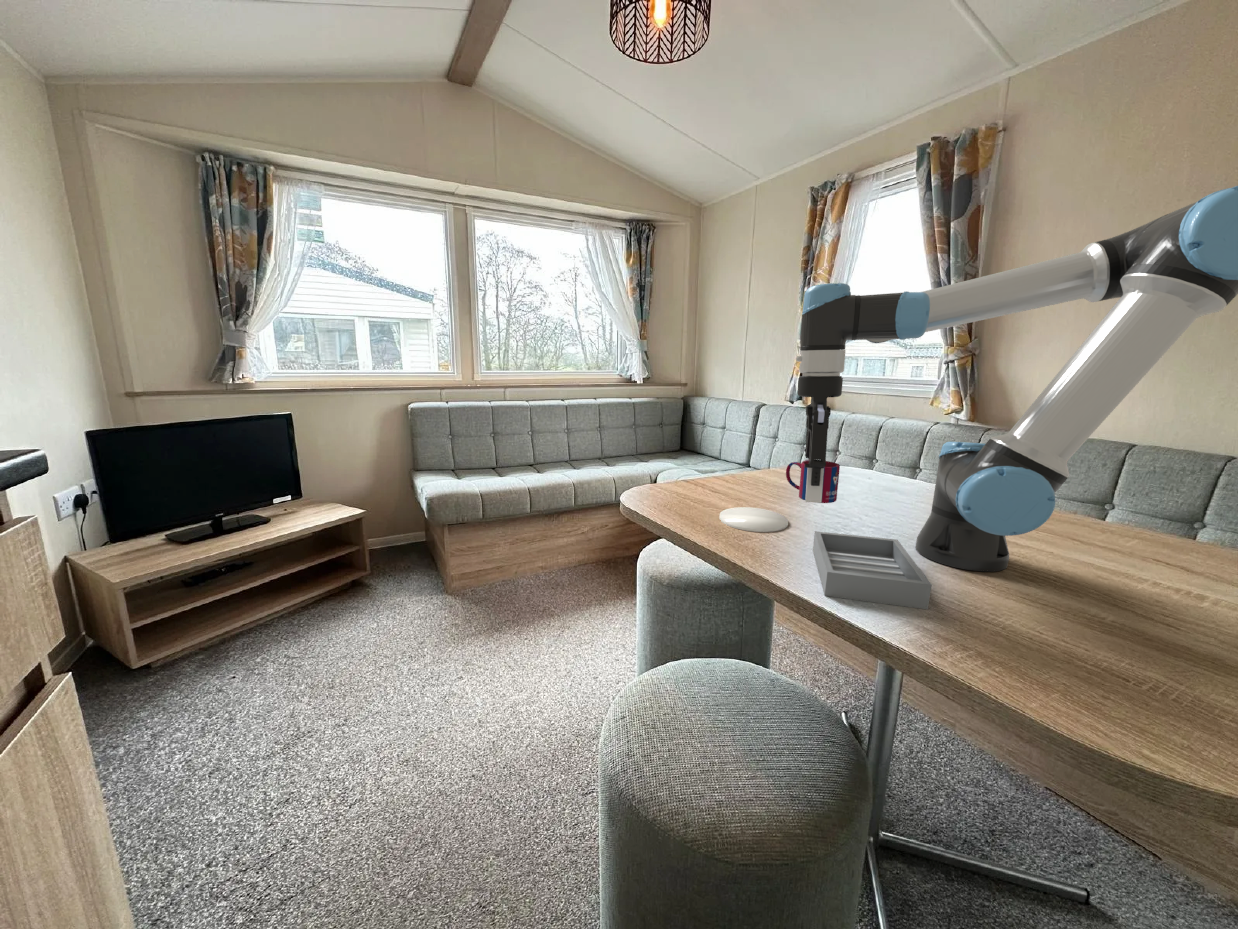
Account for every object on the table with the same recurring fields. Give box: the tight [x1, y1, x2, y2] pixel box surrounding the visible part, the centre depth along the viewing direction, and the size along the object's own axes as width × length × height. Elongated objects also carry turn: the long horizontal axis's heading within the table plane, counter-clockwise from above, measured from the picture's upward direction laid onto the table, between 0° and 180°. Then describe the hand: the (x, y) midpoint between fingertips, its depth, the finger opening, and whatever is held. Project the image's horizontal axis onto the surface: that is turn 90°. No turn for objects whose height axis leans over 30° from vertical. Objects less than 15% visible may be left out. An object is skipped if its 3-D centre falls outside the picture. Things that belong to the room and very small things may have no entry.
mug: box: [785, 460, 841, 504], centre depth 93 cm, size 7×10×7 cm
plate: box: [718, 506, 789, 533], centre depth 117 cm, size 16×16×1 cm
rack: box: [812, 530, 933, 610], centre depth 86 cm, size 15×20×4 cm
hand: (811, 496), depth 92 cm, fingers closed on mug, 7 cm apart
